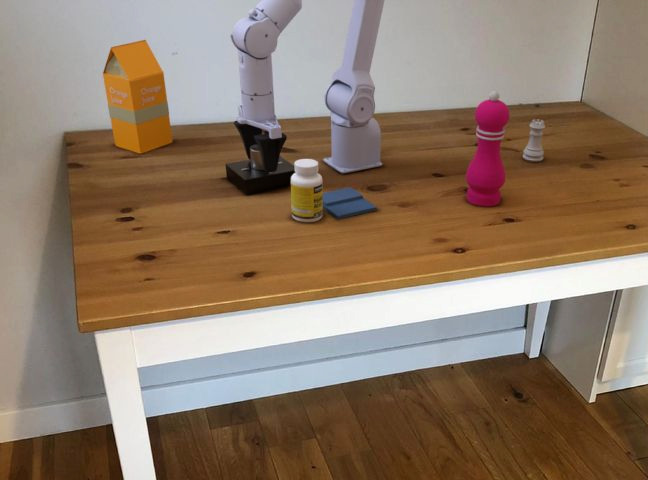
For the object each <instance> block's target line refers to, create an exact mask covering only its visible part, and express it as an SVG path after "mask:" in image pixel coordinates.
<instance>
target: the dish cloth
mask: <svg viewBox="0 0 648 480" xmlns="http://www.w3.org/2000/svg"><path fill="white" fill-rule="evenodd" d="M323 210H325V211H326V212H327V213H328V214H329V215H331V216H332V217H334V218H335V219H336V220H340V219H341V220H342V219H346V218H350V217H355V216H359V215H362V214H367V213H371V212H376V211H377V206H376V205H374V204H373V203H372V202H370V201H368V200H367V199H366V198H364V195H363V194H362V193H360V192H359V191H358V190H355V188H353V187H351V186H348V187H343V188H339V189H335V190H329V191H325V192H323Z"/></svg>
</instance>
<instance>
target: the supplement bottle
mask: <svg viewBox="0 0 648 480" xmlns="http://www.w3.org/2000/svg"><path fill="white" fill-rule="evenodd" d="M293 165H294V166H295V172H296V173H294V174H293V175H292V177H291V186H290V204H291V205H290V206H291V217H292V219H294V220H295V221H297V222H301V223H315V222H318V221H320V220H321V219H322V218H323V215H324V209H323V193H324V190H323V188H324V187H323V186H324V185H323V184H324V183H323V181H324V179H323V177H322V175H321V174H320V173H318V172H319V161H317V159H316V160H315V159H313V158H301V159H300V158H299V159H297V160H295V161H294V163H293Z"/></svg>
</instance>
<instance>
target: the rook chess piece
mask: <svg viewBox="0 0 648 480" xmlns="http://www.w3.org/2000/svg"><path fill="white" fill-rule="evenodd" d="M529 127H530V131H529V139H528V143H527V145H526V146H525V148H524V149H523V154H522V158H523V160H525V161H527V162H530V163H540V162H542V161H543V160H544V154H545V153H544V152H545V151H544V150H543V145H542V137H543V135H544V133H543V131H544V129H545V128H546V125H545V121H544V120H543V119H532V120H531V122H530V124H529Z"/></svg>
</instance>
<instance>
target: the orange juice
mask: <svg viewBox="0 0 648 480" xmlns="http://www.w3.org/2000/svg"><path fill="white" fill-rule="evenodd" d="M102 77H103V78H102V79H103V83H104V89H105V90H104V91H105V94H106V101H107V107H108V113H109V114H108V115H109V118H110V123H111V129H112V135H113V140H114V146H115V147H118V148H121V149H124V150H127V151H130V152H134V153H136V154H140V155H141V154H144V153H147V152H149V151H150V152H151V151H153V150H155V149H158V148H161V147H164V146H167V145H170V144H173V135H172V128H171V120H170V109H169V101H168V96H167V89H166V82H165V81H166V80H165V74H164V71H163V69H162V67H161V65H160V64H159V62H158V60H157V58H156V56H155V54H154V52H153V50H152V49H151V47H150V46H149V43H148V41H147V39H143V40H138V41H134V42H129V43H124V44H120V45H114V46H111V47H110V49H109V53H108V56H107V59H106V62H105V66H104V69H103V72H102Z"/></svg>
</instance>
